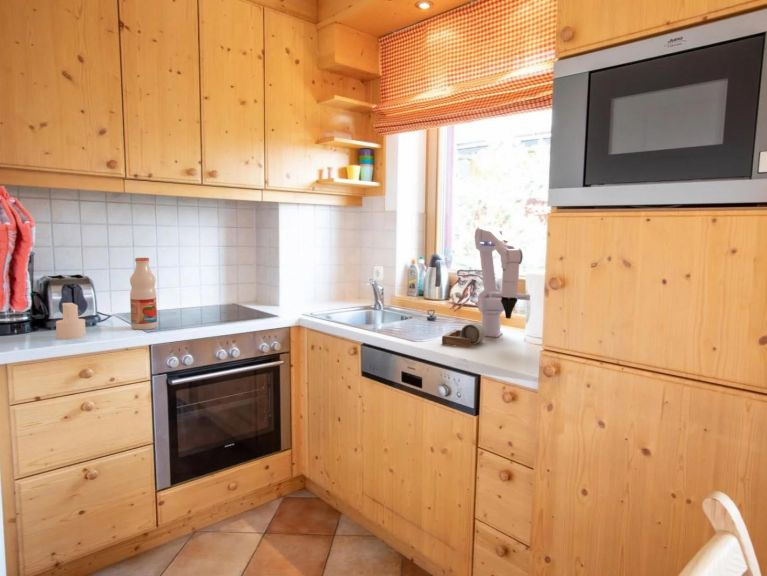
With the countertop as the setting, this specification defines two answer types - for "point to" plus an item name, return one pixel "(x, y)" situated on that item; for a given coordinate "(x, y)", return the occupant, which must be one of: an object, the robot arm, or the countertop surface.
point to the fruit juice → (143, 297)
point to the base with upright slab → (70, 323)
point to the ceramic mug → (473, 332)
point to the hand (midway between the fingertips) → (508, 318)
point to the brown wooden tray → (456, 339)
